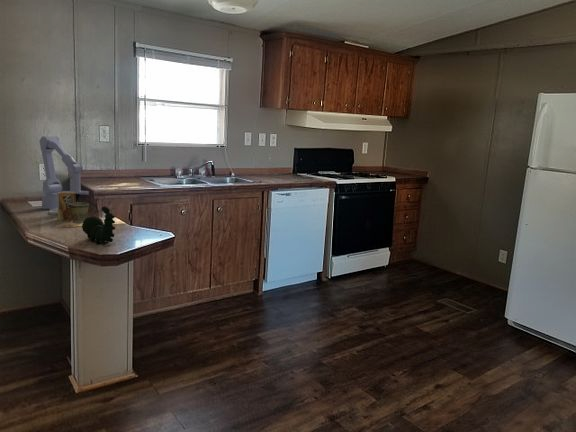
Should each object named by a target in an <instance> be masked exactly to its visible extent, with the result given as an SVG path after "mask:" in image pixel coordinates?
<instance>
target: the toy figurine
mask: <svg viewBox="0 0 576 432" xmlns="http://www.w3.org/2000/svg"><path fill="white" fill-rule="evenodd" d="M101 211H102V212H104V220H102V219H101V217H99V216H96V215H91V216H87V218H85V220H84V221H83V223H81V228H82V232H84V234H86V236H87V239H89V240H90V241H91V242H92V241H93V242H94V243H95V244H99V243H101V244H105V243H112V242H113V241H114V238H115V233H114V231H115V229H116V226H114V225H113V224H115V223H116V221H115V220H114V218H115V215H114V214H113V213H111V212H110V211H111V210H110V208H109V207H107V206H102V207H101Z"/></svg>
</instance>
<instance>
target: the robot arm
mask: <svg viewBox="0 0 576 432" xmlns="http://www.w3.org/2000/svg"><path fill="white" fill-rule="evenodd" d="M39 147H40V150H41V156H42V161H43V167H44V172H45V180H44V181H43V182H42V191H43V194H42V196H41V210H42V209H44V210H55V209H58V205H57V193H59V192H75V193H76V203H78V200H79V198H80V195H81V196H82V195H83V196H84V195H85V196H86V195H90V193H89V192H90V191H89V190H81V189H82V187H81V183H82V182H81V174H82V172H83V166H82V164H81V163H79V162H77V161H76V160H75V159H74V158H73V156H72V155H71V154H70V153H69V154H68V152H67V151H66V150H65V148H64V147H63V145H62V140H61V138H59V136H41V137H40V139H39ZM53 151H55V152H57V154H59V155H60V157H61V161H62V162H63V163H64V165H65V166H66V167H67V169H66V170H67V172H68V176H69V190H63V185H62V183H61V181H60V180H59V179H58V178H57V176H56V171H55V165H54V157H53Z"/></svg>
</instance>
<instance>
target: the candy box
mask: <svg viewBox="0 0 576 432" xmlns="http://www.w3.org/2000/svg"><path fill="white" fill-rule="evenodd" d="M76 194H77V193H75V192H62V191H61V192H59V193H57V205H58V214H57V219H58V221H60V222H61V221H71V220H72V215H71V211H70V208H69V204H70V203H76ZM72 221H73V220H72Z"/></svg>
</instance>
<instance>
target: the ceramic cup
mask: <svg viewBox="0 0 576 432" xmlns="http://www.w3.org/2000/svg"><path fill="white" fill-rule="evenodd" d="M69 208H70V211H71V215H72V222H73V223H75V224H83V221H84V220H85V218H87V217H88V213H89V208H90V203H88V202H80V201H77V203H70V204H69Z"/></svg>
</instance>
